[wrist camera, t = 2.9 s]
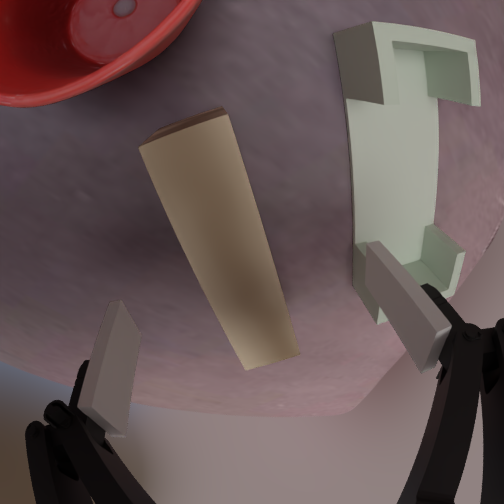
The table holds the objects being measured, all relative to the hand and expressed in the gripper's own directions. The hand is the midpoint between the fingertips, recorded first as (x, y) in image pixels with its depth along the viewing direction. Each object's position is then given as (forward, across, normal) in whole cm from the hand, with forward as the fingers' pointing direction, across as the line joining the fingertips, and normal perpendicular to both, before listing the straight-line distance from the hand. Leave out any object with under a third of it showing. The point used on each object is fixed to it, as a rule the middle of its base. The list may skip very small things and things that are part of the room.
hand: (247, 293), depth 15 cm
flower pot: (+7, -3, +16) cm, 18 cm away
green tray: (+7, +13, +2) cm, 15 cm away
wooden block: (+7, 0, 0) cm, 7 cm away
